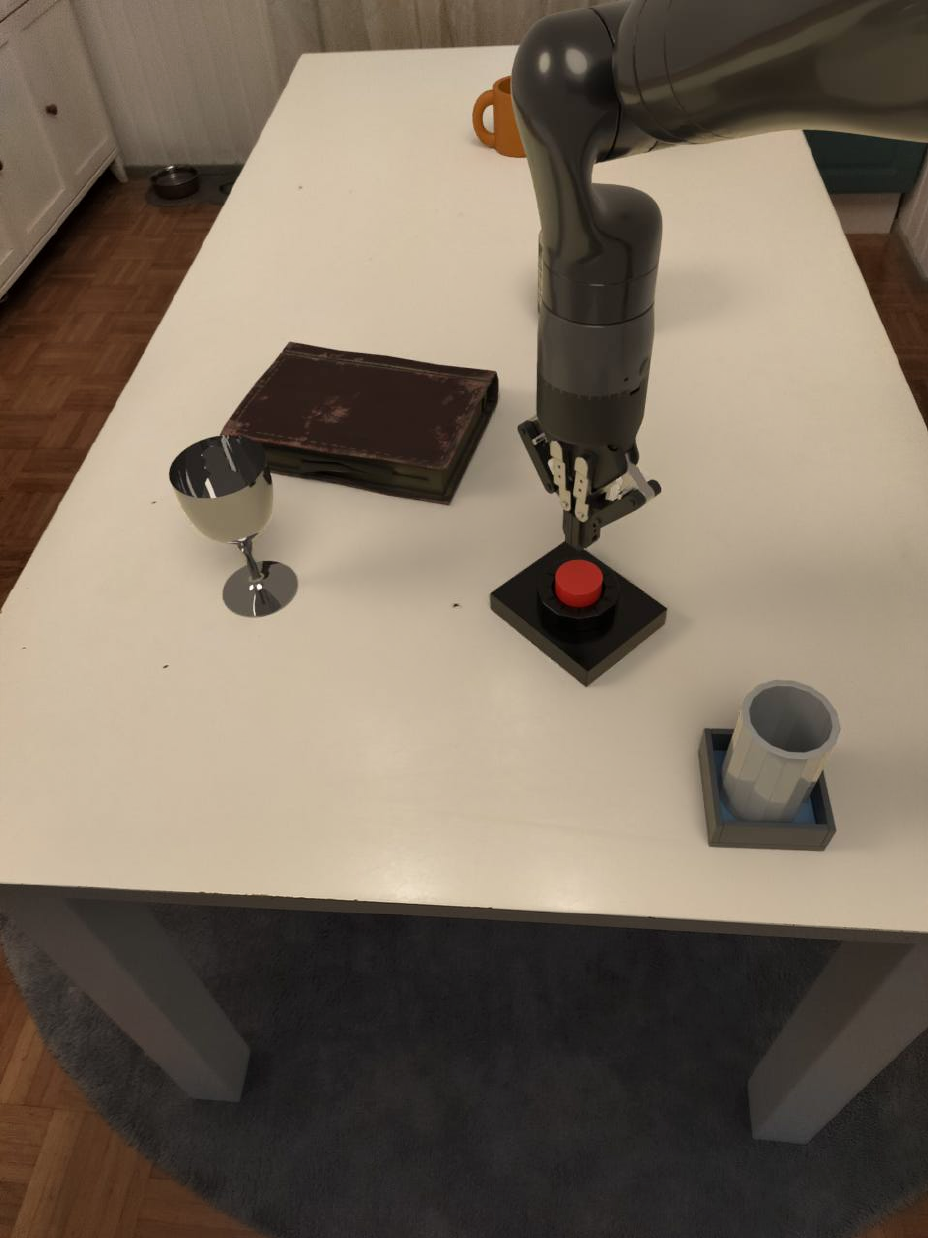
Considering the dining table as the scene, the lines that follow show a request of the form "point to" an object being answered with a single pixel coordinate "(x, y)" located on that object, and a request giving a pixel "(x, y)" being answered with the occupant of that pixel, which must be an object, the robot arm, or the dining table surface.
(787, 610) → the dining table surface
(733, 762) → the tumbler
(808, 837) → the tray
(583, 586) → the button
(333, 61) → the dining table surface
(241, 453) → the wine glass
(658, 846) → the dining table surface
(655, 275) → the robot arm
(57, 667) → the dining table surface
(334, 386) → the diary
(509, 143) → the mug
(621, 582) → the control block
